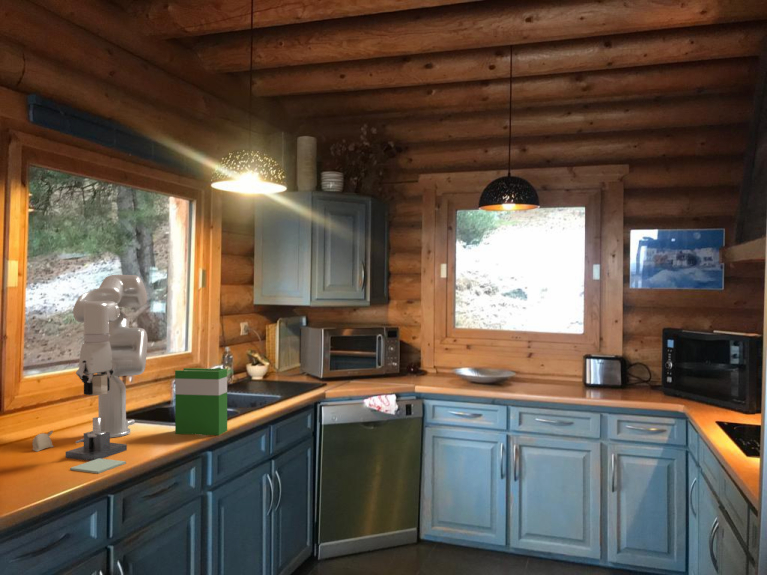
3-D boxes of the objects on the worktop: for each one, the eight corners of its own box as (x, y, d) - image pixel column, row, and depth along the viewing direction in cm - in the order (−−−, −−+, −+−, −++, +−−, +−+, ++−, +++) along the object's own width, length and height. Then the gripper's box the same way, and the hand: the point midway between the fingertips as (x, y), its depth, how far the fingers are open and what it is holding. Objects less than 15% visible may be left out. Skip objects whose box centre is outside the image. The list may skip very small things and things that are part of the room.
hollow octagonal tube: (97, 391, 203) (96, 373, 203) (111, 392, 201) (111, 374, 201) (81, 394, 197) (81, 376, 197) (96, 395, 195) (96, 377, 195)
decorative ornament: (28, 451, 203) (28, 435, 203) (49, 445, 211) (49, 429, 211) (36, 452, 202) (36, 436, 202) (58, 446, 210) (58, 430, 210)
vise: (98, 447, 208) (98, 412, 208) (126, 450, 203) (126, 414, 204) (64, 457, 195) (64, 420, 195) (93, 461, 190) (93, 423, 190)
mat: (98, 460, 192) (98, 458, 192) (125, 463, 188) (125, 461, 188) (70, 469, 181) (70, 467, 181) (98, 473, 177) (98, 471, 177)
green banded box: (175, 433, 227) (175, 370, 227) (184, 429, 234) (184, 368, 234) (218, 435, 224) (218, 371, 224) (227, 430, 231) (227, 368, 231)
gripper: (107, 336, 209) (108, 387, 209) (66, 341, 192) (66, 396, 192) (124, 337, 206) (125, 388, 206) (84, 341, 190) (84, 398, 190)
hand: (96, 392), depth 199 cm, fingers closed on hollow octagonal tube, 6 cm apart
